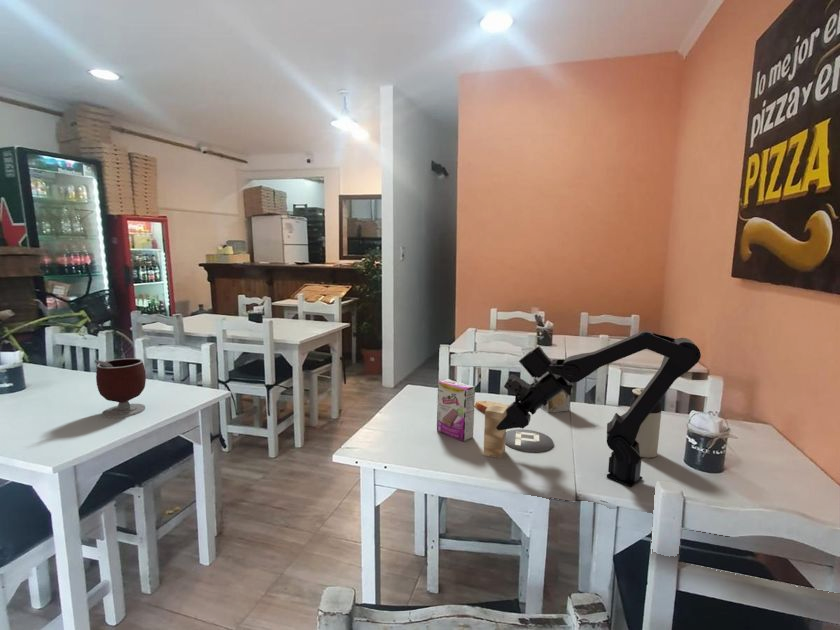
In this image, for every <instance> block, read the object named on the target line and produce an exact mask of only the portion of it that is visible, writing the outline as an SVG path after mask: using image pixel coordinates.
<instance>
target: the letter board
mask: <svg viewBox="0 0 840 630" xmlns="http://www.w3.org/2000/svg"><path fill="white" fill-rule="evenodd" d="M505 446H508V447H509V448H511V449H514V450H517V451H520V452H525V453H526V452H527V453H542V452H547V451H549V450H551V449H552V448H553V447H554V440H553V439H552V438H551V437H550V436H549V435H547V434H545V433H542V432H540V431H536V430H532V429H524V428H523V429H522V428H516V429H509V430H508V431H507V430H506V440H505Z"/></svg>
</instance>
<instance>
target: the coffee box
mask: <svg viewBox="0 0 840 630" xmlns="http://www.w3.org/2000/svg"><path fill="white" fill-rule="evenodd" d="M548 373H549V372H546V373H545V374H544V375H543V376H541V377H540V379H539V380H541V379H542V378H543V377H544V376H546V375H547V374H548ZM566 381H567V380H566ZM567 382H568V383H571V382H569V381H567ZM539 409H540V410H542V411H544V412H546V413H548V414H549V413H558V412H559V413H560V412H567V411H568V412H569V411H571V410H570V409H571V395H570V396H569V395H568V394H567V393H566V392H565V390H563V391H562V392H561V393H559V394H558V395H557V396H555V397H554V398H553V399H551V400H550V401H548V404H547V405H545V406H544V405H543V406H542V407H540V408H539Z"/></svg>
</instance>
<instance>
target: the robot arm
mask: <svg viewBox="0 0 840 630" xmlns="http://www.w3.org/2000/svg"><path fill="white" fill-rule="evenodd" d="M644 350H648V351H651V352H653V353H657V354H658V355H661V356H663V359H662V361H661V364H660V366H659V369H658V370H657V371H656V372H655V374H654V375H653V376H652V378H651V379H650V381H649V382H648V383H647V385H646V386H645V387H643V388H644V390H643V391H642V392H641V394H640V395H639V396H638V398H637V399H636V400H635V402H634V403H633V405H632V406H631V407H630V406H629V408H628V410H627V411H625V413H623V414H622V415H619V413H618V412H616V413H614V415H613V418H612V419H611V421H609V422H608V423H607V424H606V444H607V446H608V448H609V450H611V454H610V456H609V458H608V468H607V472H608V473H607V474H606V476H607V477H606V478H608V477H609V478H608V479H610V478H612V479H611V480H613V479H614V480H613V481H615V480H617V481H618V483H620V482H621V483H620V484H622V483H623V485H625V484H626V485H625V486H627V485H628V487H630V488H633V487H634V486H635V485H637V484H638V483H640V482H641V481H642V480H643V476H641V469H642V458H643V457H641V456H640V448H639V443H638V442H637V441H636V440H635V439H636V437H637V434H638V431H639V428H640V426H641V424H642V423H643V421H644V420H645V419H646V418H647V416H648V415H649V414H650V412H651V411H652V410H653V408H654V407H655V406H656V405H657V403H658V402H659V401H660V402H661V399H662V398H663V397H664V396H665V394H666V393H667V392H668V390H669V389H670V387H672V385H673V384H674V382H675V381H676V380H677V379H679V378H680V377H682V376H684V375H685V374H686V373H688V372H689V371H690V370H691V369H692V368H693V367H695V366H696V365H697V364H698V363H699V361H700V360H701V356H702V355H701V350H700V349H699V347H698V346H697V344H695V342H694V341H693V340H691V339H690V338H686V337H679V338H678V337H677V338H673V337H671V336H667V335H664V334H659V333H655V332H652V331H650V330H648V329H643V330H641V331H639V332H638V333H636V334H633V335H630V336H629V337H626V338H624V339H621V340H619V341H617V342H613V343H612V344H609V345H607V346H604V347H601V348H600V349H597V350H594V351H591V352H585V353H583V352H582V353H579V354H574V355H570V356H568V357H566V358H561V359H560V358H559V359H555V358H554V359H552V360H551V358H550V357H549V356H548V355H547V354H546V353H545V352H544V350H543V348H542V347H541V346H540V345H538V346H537V347H535V348H534V349H532V350H530V351H529V352H527V353H526V354H525V355H524V356H522V358H520V359H519V360H518V362H519V365H521V366H522V367H523V368H524V369H525V370H526V372H527V373H528V374H529V375H530V376H531V378H535V379H539V378H540V377H541V376H543V375H544V374H545V373H546V372H549V373H548V374H547V375H546V376H544V377H543V378H542V379H541V380H540V379H539V380H537V382H531V384H530V383H528V382H527V381H525V380H524V379H522V378H520V377H519V376H517V375H515V374H513V373H512V374H510V376H509V377H508V379H507V381H506V382H505V383H504V384H503V388H505V390H507V391H510V392H512V393H513V394H515V399H514V401H513V402H512V403H510V404H509V405H510V406H508V408H507V409H506V412H507V415H506V416H505V418H504V419H503V420H502V421H501V422H500V423H499V424H498V425H497V427H496V428H497V430H505V429H506V430H513V429H524V428H525V427H527V426H528V425H529V424H530V421H531V416H532V415H534V414H536V412H537V411H538V410H539V409H541V408H540V407H542V406H543V405H544V406H545V405H547V404H548V401H550V400H551V399H553V398H554V397H555V396H557V395H558V394H559V393H561V392H562V391H563V390H565V392H566V393H567V394H568V395H569V396H570V397H571V396H572V393H573V387H574V383H578V382H580V381H582V380H584V379H585V378H587V377H588V376H591V374H592V373H594V372H595V371H596V370H598V369H600V368H601V367H604V366H607V365H609V364H611V363H613V362H617V361H619V360H622V359H624V358H626V357H630V356H631V355H635V354H636V353H639V352H642V351H644ZM566 380H567V381H569V382H571V383H568V382H567V381H566ZM617 481H616V482H617ZM632 486H633V487H632Z"/></svg>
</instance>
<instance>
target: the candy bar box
mask: <svg viewBox="0 0 840 630" xmlns="http://www.w3.org/2000/svg"><path fill="white" fill-rule="evenodd" d="M475 396H476V386H475V385H471V384H468V383H463V382H460V381H456V380H453V379H449V378H445V379H441V380H439V381H437V406H436V407H437V409H436V410H437V413H436V415H437V416H436V432H438V433H441V434H444V435H446V436H449V437H452V438H454V439H457V440H458V441H462V442H466V441H468V440H470V439H473V438H474V424H475V423H474V422H475V420H474V419H475V407H474V406H475V400H476V399H475Z"/></svg>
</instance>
